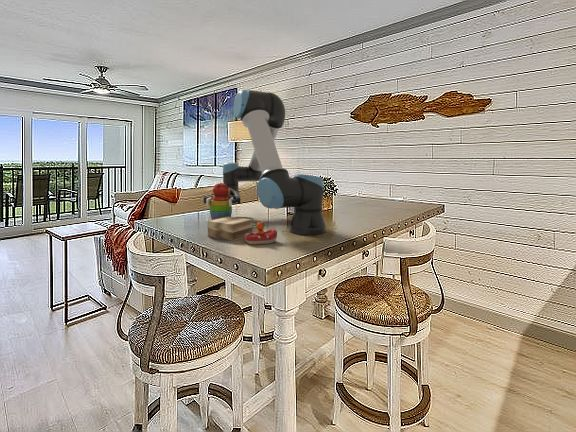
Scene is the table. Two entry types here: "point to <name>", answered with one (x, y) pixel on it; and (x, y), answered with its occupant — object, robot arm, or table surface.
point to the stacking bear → (220, 202)
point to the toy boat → (261, 236)
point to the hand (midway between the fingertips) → (218, 202)
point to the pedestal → (229, 228)
